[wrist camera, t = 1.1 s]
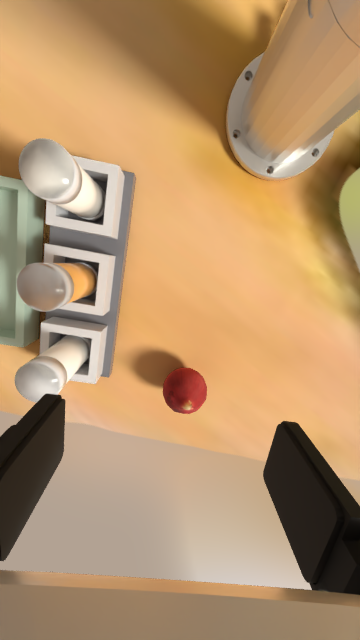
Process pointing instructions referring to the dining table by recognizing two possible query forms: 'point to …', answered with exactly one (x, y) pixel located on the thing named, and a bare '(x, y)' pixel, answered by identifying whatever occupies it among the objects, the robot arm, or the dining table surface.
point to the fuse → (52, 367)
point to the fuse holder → (105, 255)
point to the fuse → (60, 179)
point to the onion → (184, 390)
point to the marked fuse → (55, 284)
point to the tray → (18, 258)
